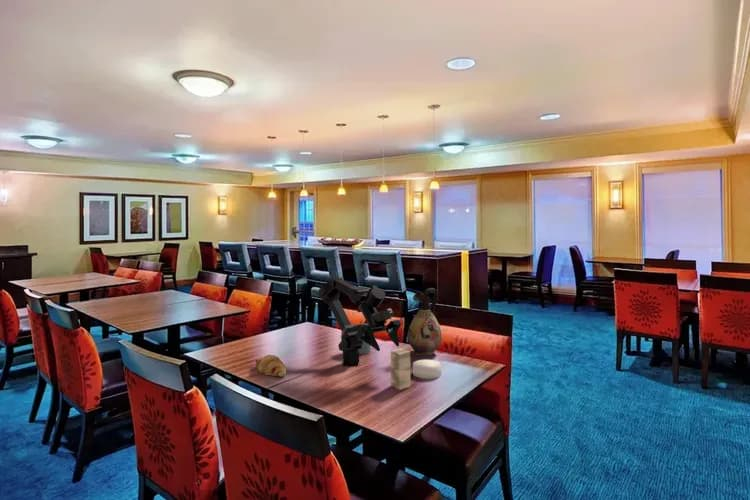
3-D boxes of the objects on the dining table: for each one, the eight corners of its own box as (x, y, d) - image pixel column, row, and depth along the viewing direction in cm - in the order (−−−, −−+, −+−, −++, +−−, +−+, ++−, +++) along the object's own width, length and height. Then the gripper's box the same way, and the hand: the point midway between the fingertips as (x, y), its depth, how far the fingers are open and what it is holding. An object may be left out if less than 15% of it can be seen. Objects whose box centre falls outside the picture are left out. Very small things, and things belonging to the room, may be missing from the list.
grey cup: (371, 354, 196) (370, 328, 195) (349, 355, 196) (348, 329, 195) (371, 348, 206) (371, 323, 205) (350, 348, 206) (350, 323, 205)
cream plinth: (415, 379, 164) (415, 369, 164) (411, 369, 175) (411, 360, 175) (444, 378, 165) (444, 368, 164) (438, 368, 176) (437, 359, 175)
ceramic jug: (418, 359, 187) (417, 291, 186) (402, 350, 202) (401, 287, 200) (451, 354, 194) (451, 288, 192) (433, 346, 208) (433, 284, 207)
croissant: (291, 385, 170) (298, 365, 172) (271, 379, 163) (279, 358, 165) (262, 371, 184) (270, 353, 187) (243, 365, 178) (251, 347, 180)
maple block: (391, 385, 158) (390, 350, 157) (401, 382, 161) (401, 348, 160) (400, 389, 154) (399, 354, 153) (410, 386, 157) (410, 351, 156)
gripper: (359, 305, 160) (378, 340, 151) (398, 299, 171) (417, 332, 163) (348, 322, 166) (365, 357, 158) (386, 316, 178) (404, 348, 169)
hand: (389, 348), depth 162 cm, fingers open, 9 cm apart
